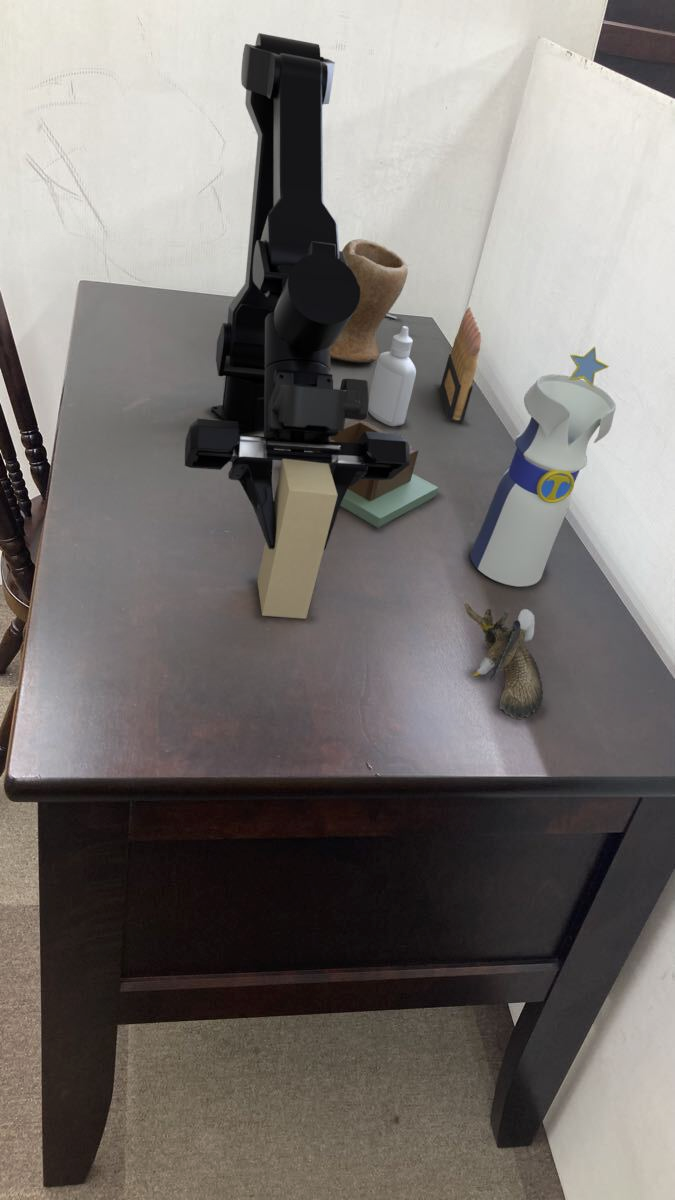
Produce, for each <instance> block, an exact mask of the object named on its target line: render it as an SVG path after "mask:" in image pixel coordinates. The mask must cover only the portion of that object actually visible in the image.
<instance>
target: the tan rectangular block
mask: <svg viewBox="0 0 675 1200" xmlns="http://www.w3.org/2000/svg"><path fill="white" fill-rule="evenodd" d="M281 462H282V464H281V463H280V468H281V469H280V468H279V474H278V478H277V484H276V489H275V492H274V493H275V494H274V497H273V500H274V511H275V522H276V541H275V548H274V549H269V548H268V545H267V542H266V541H265V542H264V548H263V552H262V557H261V562H260V566H259V572H258V575H257V588H258V596H259V603H260V604H259V605H260V609H261V610H260V611H261V616H262V617H277V618H290V619H305V620H306V619H307V617H308V614H309V609H310V606H311V601H312V597H313V594H314V590H315V586H316V582H317V578H318V574H319V570H320V566H321V563H322V559H323V555H324V551H325V550H324V547H325V543H326V539H327V535H328V531H329V527H330V523H331V519H332V516H333V512H334V508H335V504H336V500H337V496H338V495H337V491H336V488H335V484H334V481H333V477H332V474H331V470H330V467H329V464H326V463H317V462H309V461H300V460H292V459H282V460H281Z"/></svg>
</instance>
